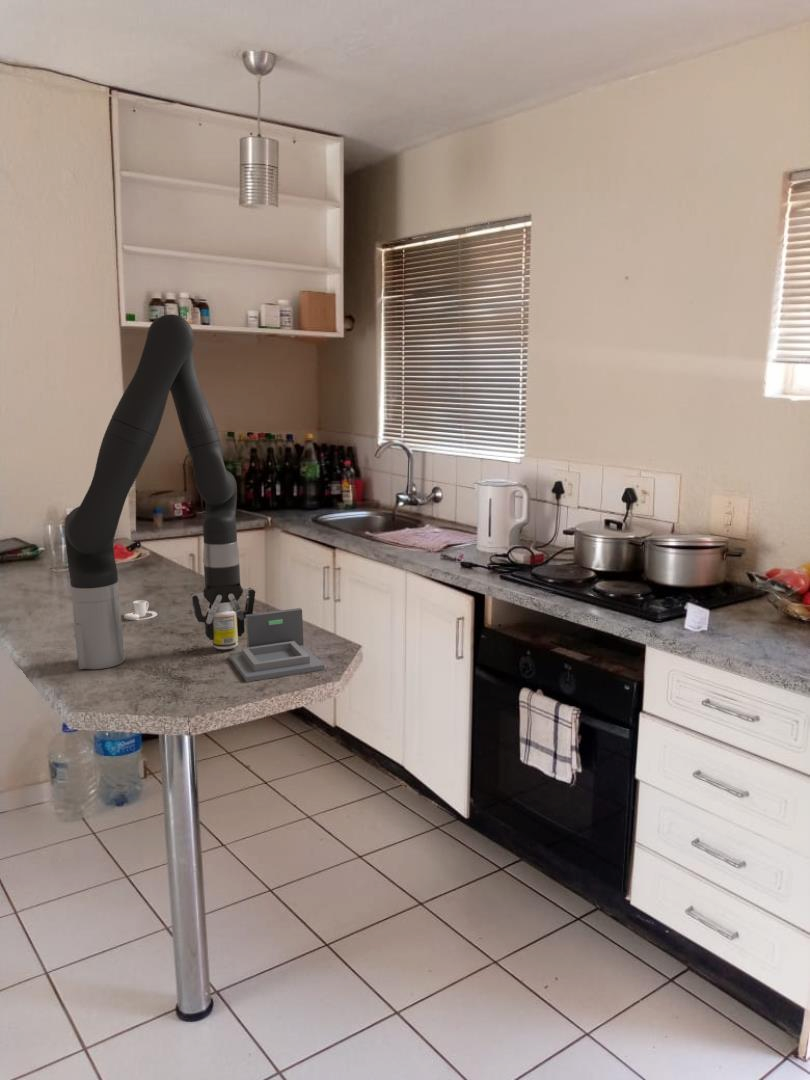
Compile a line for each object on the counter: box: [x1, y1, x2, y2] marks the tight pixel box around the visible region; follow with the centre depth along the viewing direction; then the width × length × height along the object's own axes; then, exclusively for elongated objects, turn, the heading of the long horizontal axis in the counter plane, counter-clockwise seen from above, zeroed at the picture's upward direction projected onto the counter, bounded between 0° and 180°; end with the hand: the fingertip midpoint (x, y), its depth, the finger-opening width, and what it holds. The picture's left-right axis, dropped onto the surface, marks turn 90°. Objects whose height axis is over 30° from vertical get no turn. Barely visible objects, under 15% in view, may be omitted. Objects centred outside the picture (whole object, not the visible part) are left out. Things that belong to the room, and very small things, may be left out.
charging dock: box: [228, 607, 325, 683], centre depth 174 cm, size 16×16×9 cm
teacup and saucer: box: [123, 599, 158, 621], centre depth 212 cm, size 9×8×4 cm
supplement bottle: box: [212, 602, 239, 650], centre depth 184 cm, size 6×6×10 cm
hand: (225, 637), depth 185 cm, fingers closed on supplement bottle, 5 cm apart
